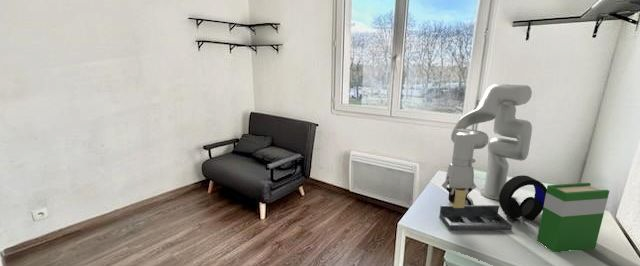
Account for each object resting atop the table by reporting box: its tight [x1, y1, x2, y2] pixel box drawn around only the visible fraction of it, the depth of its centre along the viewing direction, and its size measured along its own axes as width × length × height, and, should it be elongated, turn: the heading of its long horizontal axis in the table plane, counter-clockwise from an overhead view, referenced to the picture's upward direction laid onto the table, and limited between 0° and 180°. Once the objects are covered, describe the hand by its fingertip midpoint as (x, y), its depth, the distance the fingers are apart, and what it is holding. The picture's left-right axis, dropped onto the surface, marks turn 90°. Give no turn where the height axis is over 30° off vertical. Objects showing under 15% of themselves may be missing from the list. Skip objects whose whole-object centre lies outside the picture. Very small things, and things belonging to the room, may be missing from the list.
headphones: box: [498, 175, 547, 222], centre depth 127 cm, size 19×7×20 cm, turn 94°
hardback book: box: [536, 182, 610, 254], centre depth 108 cm, size 18×7×24 cm, turn 97°
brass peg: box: [449, 188, 466, 208], centre depth 122 cm, size 4×4×8 cm
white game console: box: [465, 194, 474, 205], centre depth 140 cm, size 17×5×10 cm, turn 6°
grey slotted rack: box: [438, 204, 513, 232], centre depth 125 cm, size 26×11×6 cm, turn 89°
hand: (457, 201), depth 123 cm, fingers closed on brass peg, 4 cm apart
